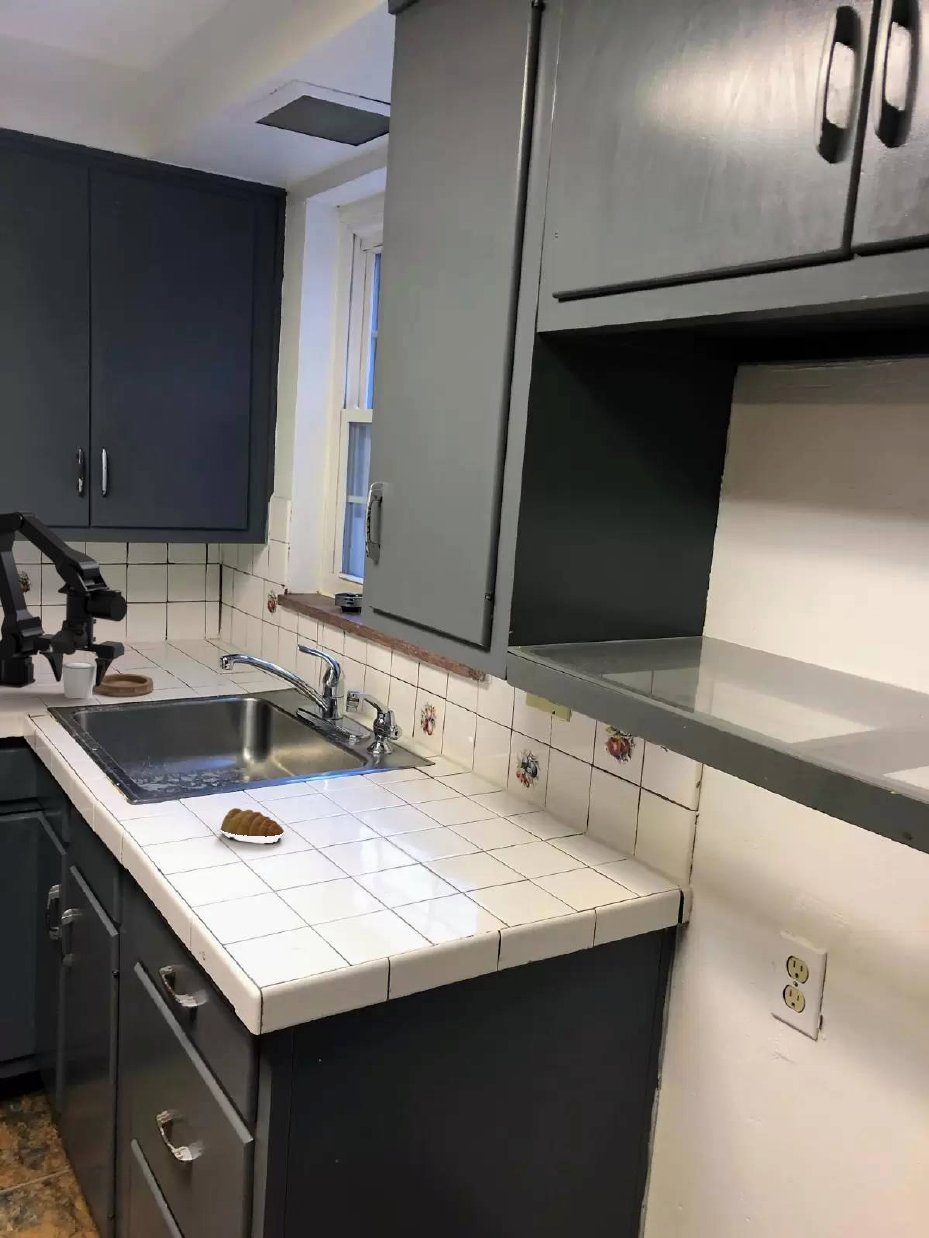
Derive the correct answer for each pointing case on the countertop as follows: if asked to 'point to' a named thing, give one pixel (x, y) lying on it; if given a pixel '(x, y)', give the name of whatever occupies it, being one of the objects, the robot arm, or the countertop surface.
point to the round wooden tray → (125, 685)
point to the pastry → (250, 824)
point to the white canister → (78, 679)
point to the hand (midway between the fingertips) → (78, 683)
